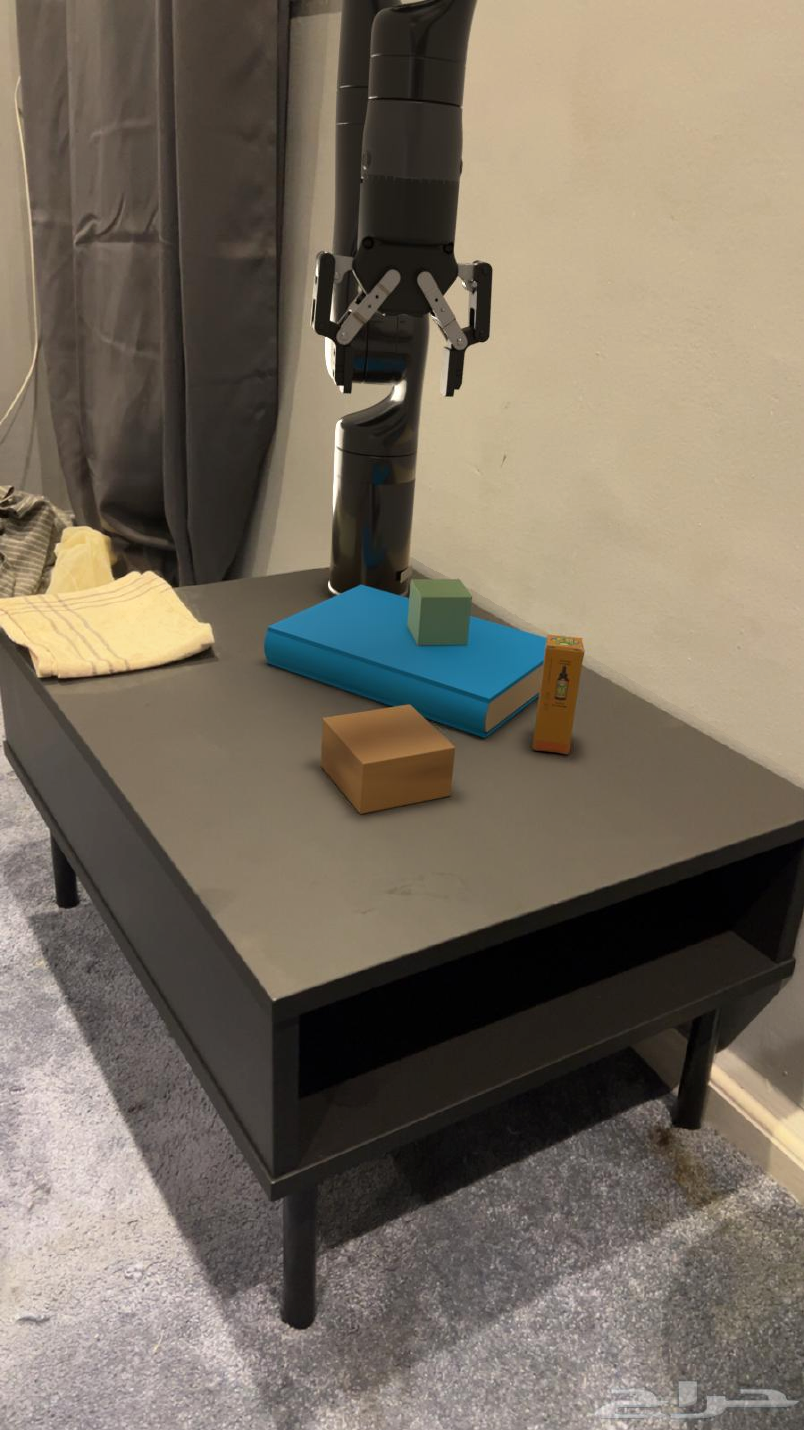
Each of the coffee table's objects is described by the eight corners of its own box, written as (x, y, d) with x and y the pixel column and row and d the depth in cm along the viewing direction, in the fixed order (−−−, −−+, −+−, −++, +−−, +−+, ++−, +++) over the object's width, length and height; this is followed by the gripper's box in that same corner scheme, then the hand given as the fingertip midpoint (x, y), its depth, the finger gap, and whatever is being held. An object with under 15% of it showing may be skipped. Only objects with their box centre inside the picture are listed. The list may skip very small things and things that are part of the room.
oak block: (320, 765, 87) (322, 717, 85) (406, 750, 91) (410, 703, 89) (360, 814, 81) (363, 763, 79) (450, 796, 84) (455, 747, 82)
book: (359, 584, 116) (568, 639, 105) (357, 620, 118) (562, 678, 107) (262, 628, 103) (489, 697, 91) (262, 668, 104) (484, 741, 93)
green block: (407, 626, 106) (410, 578, 103) (455, 625, 107) (459, 578, 105) (417, 645, 101) (421, 597, 99) (467, 645, 102) (472, 596, 100)
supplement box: (569, 738, 95) (586, 636, 90) (568, 756, 92) (585, 651, 87) (532, 733, 95) (547, 631, 91) (530, 751, 92) (545, 646, 88)
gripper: (487, 180, 84) (468, 388, 91) (310, 165, 81) (304, 382, 88) (515, 181, 78) (491, 405, 85) (323, 165, 75) (316, 399, 82)
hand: (396, 393), depth 87 cm, fingers open, 8 cm apart
